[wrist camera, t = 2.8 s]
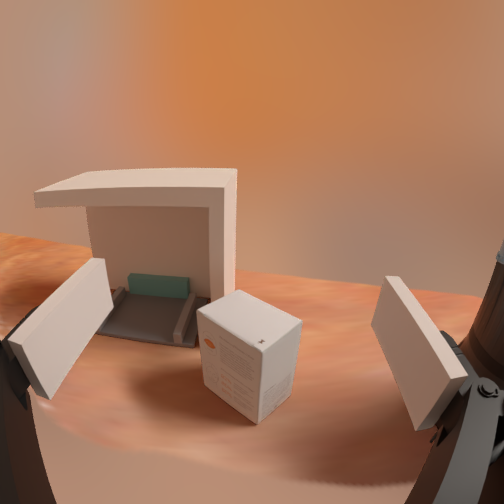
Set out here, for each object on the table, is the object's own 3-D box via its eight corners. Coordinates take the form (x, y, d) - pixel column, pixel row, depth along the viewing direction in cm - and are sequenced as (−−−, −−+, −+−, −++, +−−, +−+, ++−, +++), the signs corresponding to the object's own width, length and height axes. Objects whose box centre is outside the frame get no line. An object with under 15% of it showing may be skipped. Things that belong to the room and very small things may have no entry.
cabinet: (225, 350, 36) (224, 187, 28) (65, 327, 36) (33, 192, 28) (234, 294, 48) (237, 168, 40) (102, 283, 48) (87, 171, 40)
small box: (291, 396, 29) (306, 320, 25) (256, 427, 25) (263, 352, 21) (238, 361, 34) (239, 286, 30) (202, 385, 30) (195, 308, 26)
